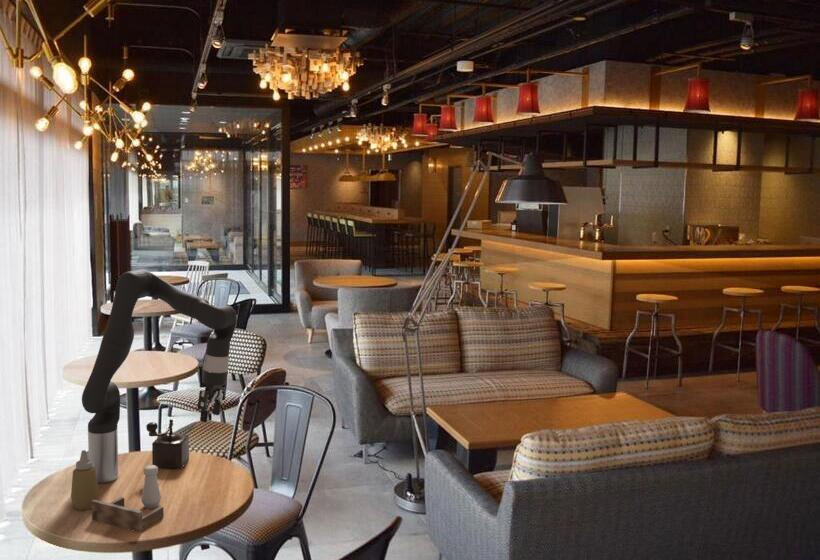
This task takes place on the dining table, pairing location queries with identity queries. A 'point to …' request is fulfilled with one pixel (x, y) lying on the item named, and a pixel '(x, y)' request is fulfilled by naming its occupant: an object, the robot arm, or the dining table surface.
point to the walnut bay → (123, 515)
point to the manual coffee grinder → (168, 448)
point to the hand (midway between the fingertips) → (209, 418)
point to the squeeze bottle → (84, 483)
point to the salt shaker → (151, 488)
